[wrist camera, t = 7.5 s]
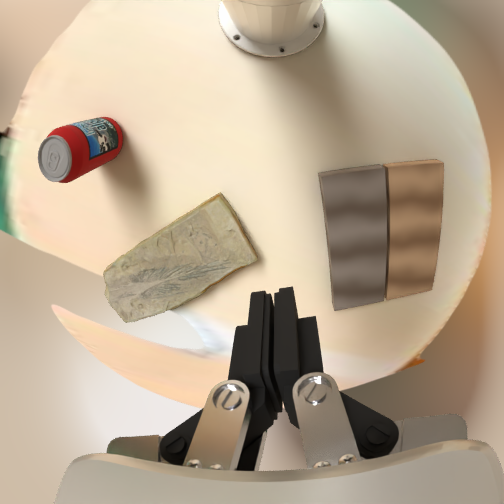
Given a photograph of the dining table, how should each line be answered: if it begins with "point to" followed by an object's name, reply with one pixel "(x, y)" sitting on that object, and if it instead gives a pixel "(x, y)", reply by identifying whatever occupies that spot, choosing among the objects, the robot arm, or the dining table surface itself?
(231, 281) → the dining table surface
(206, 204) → the stone slab
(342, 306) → the smoked oak plank
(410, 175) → the walnut board
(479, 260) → the dining table surface
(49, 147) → the beverage can
